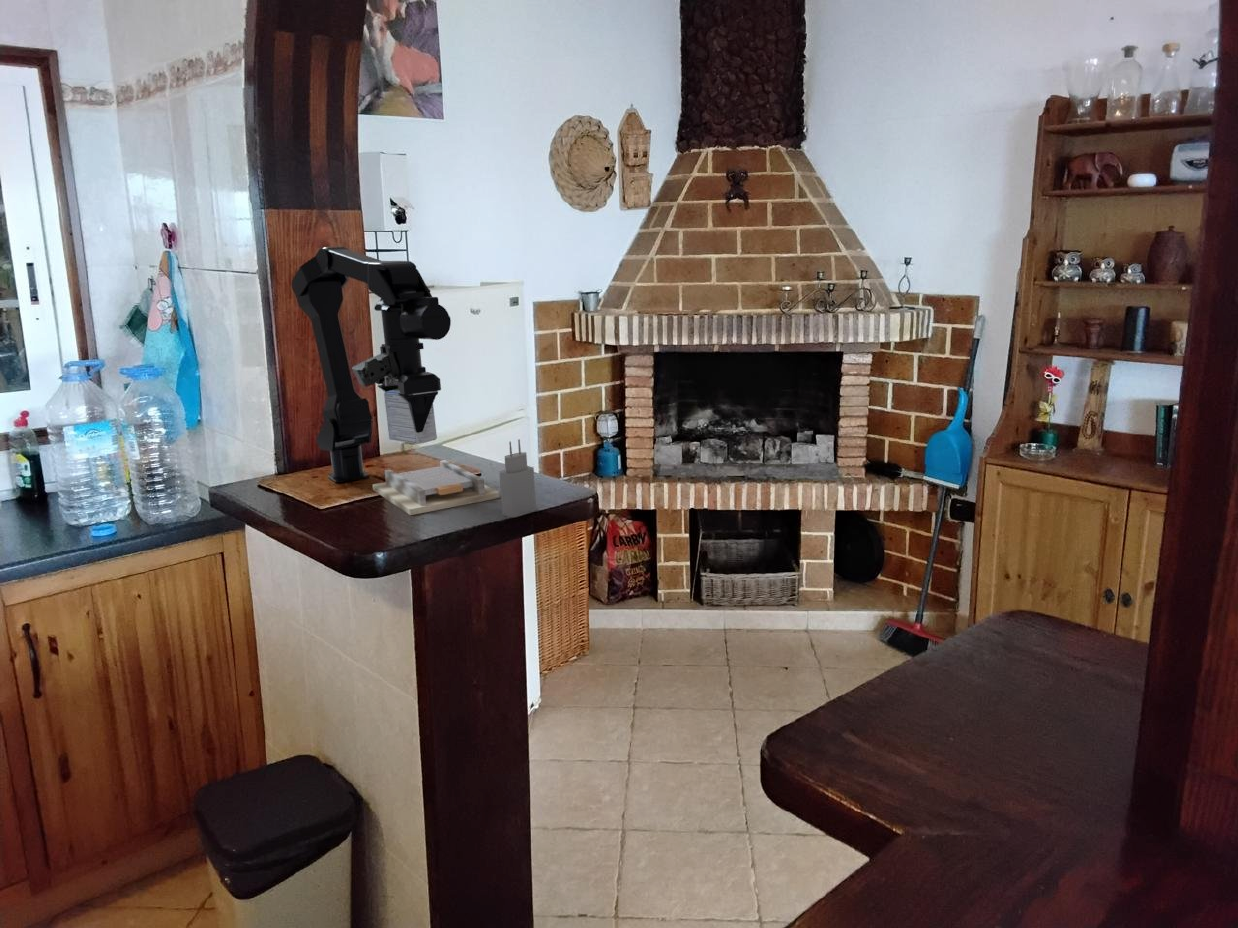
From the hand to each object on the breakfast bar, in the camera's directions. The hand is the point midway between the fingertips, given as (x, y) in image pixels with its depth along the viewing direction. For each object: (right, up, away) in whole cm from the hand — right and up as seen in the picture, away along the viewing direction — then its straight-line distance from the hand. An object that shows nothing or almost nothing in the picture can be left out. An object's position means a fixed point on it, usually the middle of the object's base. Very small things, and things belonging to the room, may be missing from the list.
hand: (410, 428), depth 160 cm
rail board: (+3, -11, +4) cm, 13 cm away
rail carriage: (+4, -10, +3) cm, 11 cm away
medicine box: (0, -2, +1) cm, 2 cm away
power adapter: (+20, -14, -9) cm, 26 cm away
